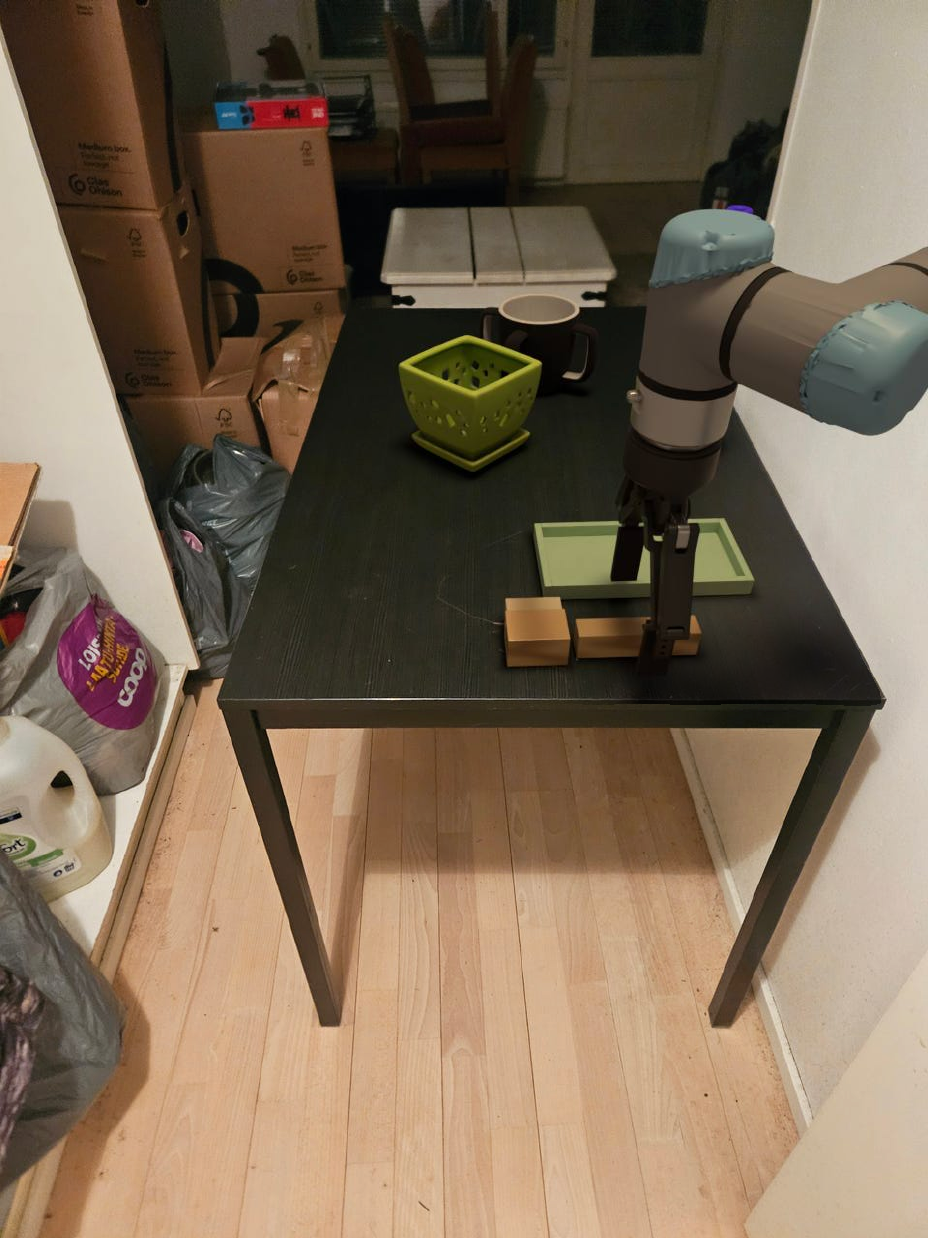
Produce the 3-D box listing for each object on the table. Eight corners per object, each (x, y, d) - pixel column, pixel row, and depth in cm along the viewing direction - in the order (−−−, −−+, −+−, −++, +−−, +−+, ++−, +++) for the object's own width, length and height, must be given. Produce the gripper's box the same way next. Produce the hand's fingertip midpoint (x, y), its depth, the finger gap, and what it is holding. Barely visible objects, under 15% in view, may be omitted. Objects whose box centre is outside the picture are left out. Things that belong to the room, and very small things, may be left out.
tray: (720, 531, 92) (724, 517, 90) (750, 594, 83) (755, 580, 82) (533, 536, 91) (534, 523, 90) (543, 600, 83) (544, 586, 81)
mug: (597, 402, 117) (606, 324, 109) (494, 411, 115) (496, 332, 107) (570, 358, 129) (576, 284, 121) (476, 365, 127) (476, 291, 119)
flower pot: (473, 486, 100) (473, 395, 91) (400, 450, 107) (393, 363, 98) (541, 446, 107) (546, 358, 99) (468, 415, 114) (467, 330, 106)
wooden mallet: (682, 616, 81) (688, 590, 78) (698, 661, 76) (705, 635, 73) (502, 622, 80) (503, 596, 78) (507, 667, 75) (508, 640, 73)
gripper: (603, 362, 70) (580, 546, 84) (664, 521, 52) (621, 722, 66) (684, 360, 70) (647, 545, 85) (773, 519, 52) (707, 720, 66)
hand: (635, 623), depth 75 cm, fingers open, 13 cm apart
